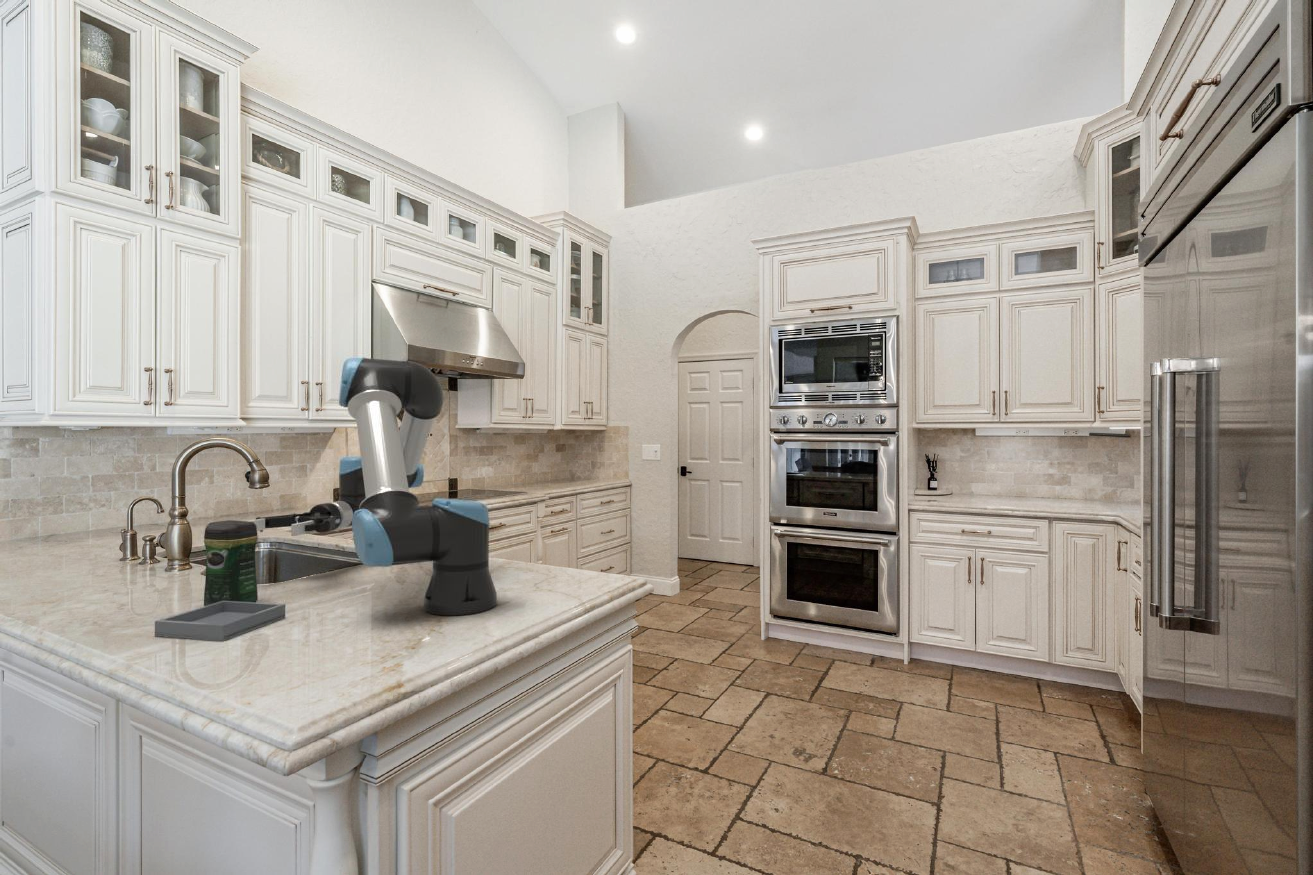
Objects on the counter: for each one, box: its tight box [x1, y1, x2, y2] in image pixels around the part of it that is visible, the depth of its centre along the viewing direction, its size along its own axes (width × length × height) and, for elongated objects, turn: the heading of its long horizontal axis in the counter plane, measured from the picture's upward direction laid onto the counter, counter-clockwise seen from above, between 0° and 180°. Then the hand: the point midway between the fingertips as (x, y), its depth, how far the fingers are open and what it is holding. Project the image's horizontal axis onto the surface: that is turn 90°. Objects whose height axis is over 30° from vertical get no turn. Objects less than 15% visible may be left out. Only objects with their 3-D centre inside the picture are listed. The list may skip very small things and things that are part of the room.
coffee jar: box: [203, 519, 259, 607], centre depth 135 cm, size 10×8×19 cm
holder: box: [154, 601, 286, 642], centre depth 120 cm, size 15×15×3 cm
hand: (266, 529), depth 145 cm, fingers open, 13 cm apart
